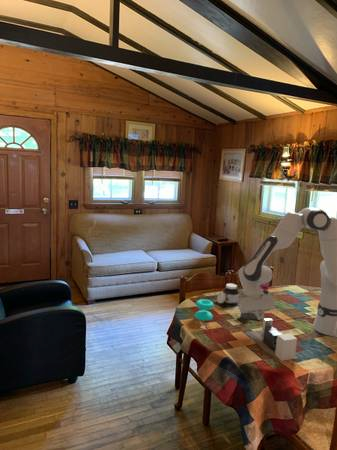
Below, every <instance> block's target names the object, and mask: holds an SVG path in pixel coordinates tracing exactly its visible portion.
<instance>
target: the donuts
mask: <svg viewBox="0 0 337 450" xmlns="http://www.w3.org/2000/svg"><path fill="white" fill-rule="evenodd" d="M214 304H215V303H214V302H213V301H211V300H210V299H204V298H200V299H198V300H197V301H196V302H195V305H196V307H197V308H198V309H199V310H198V311H196V312H195V314H194V317H195V318H196V320H198V321H204V322H205V321H206V322H207V321H211V320H213V317H214V316H213V314H212V313H211V311H209V310H212V309H214V306H215V305H214Z"/></svg>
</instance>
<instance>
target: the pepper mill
mask: <svg viewBox="0 0 337 450" xmlns="http://www.w3.org/2000/svg"><path fill="white" fill-rule="evenodd" d="M269 286H270V282H268V283H266V284H262V285H261V287H260V288H261V289H264V290H268V291H269Z"/></svg>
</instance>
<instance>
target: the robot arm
mask: <svg viewBox="0 0 337 450" xmlns="http://www.w3.org/2000/svg"><path fill="white" fill-rule="evenodd" d="M304 228H306V229H310V230H315V231H317V232H318V233H317V234H318V239H319V248H320V252H321V256H322V258H323V260H322V261H321V262H320V265H319V269H320V295H319V296H320V297H319V302H318V304H317V312H316V316H315V320H314V321H313V324H312V328H313V329H314V331H316V332H318V333H320V334H323V335H326V336H331V337H334V338H337V218H336V217H333V216H329V215H328V213H327V212H326V211H324V210H323V209H320V208H317V207H313V206H311V207H310V206H304V207H302V208H300V209H298V210H297V211H296V212H295V211H289V212H286V214H285V215H284V216H283V217H282V218H281V220H280V221H279V223H278V224H277V226H276V227H275V229H274V231H273V232H272V233H271V234H270V236H268V237H267V238H266V239H264V242H263V243H262V244H260V245H261V246H260V247H258V249H257V251H256V252H255V254H254V255H253V257H252V258H251V259H250V260H249V261H248V262H246V264H245V265H243V266H241V267H240V268H239V269H238V277H239V281H240V283H241V286H242V288H243V289H242V291H243V294H242V295H240V294H239V296H238V297H239V298H238V297H237V301H238V302H237V303H238V309H239V312H240V314H241V313H250V312H251V313H254V314H255V315H256V316H257V318H258V319H257V320H258V321H261V320H262V321H263V319H265V312H269V311H274V310H275V309H276V303H275V300H274V298H273V296H272V295H271V292H270V290H269V289H268V290H264V289H261V288H262V287H260V286H262V284H266V283H268V282H269V283H270V282H271V281H272V280H273V278H274V277H273V276H274V274H273V273H274V272H273V270H272V269H271V268H270V267H269V266H267V265H265V262H266V261H267V260H268V258H269V257H270V255H271V254H272V253H273V252H275V251H277V250H281V249H286V248H288V247H290V246H291V245H292V244H293V243H294V241H295V240H296V238H297V236H298V234H299V233H300V232H301V230H302V229H304ZM258 313H260V314H261V316H260V315H259V314H258Z"/></svg>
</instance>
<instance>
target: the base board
mask: <svg viewBox="0 0 337 450" xmlns="http://www.w3.org/2000/svg"><path fill="white" fill-rule="evenodd" d="M245 334H247V336H248V337H250V339H251V340H252V341H254V342H255V343H256V344H257V345H258V346H259V348H261V349H262V351H264V352H265V353H266V354H267V355H269V357H271V359H273V361H275V362H283V361H284V360H282V361H281V360H280V359H279V358H278V357H277V356H276V355H275V351H276V350H271V349H270V348H269V347H268V346H267V345H266V344H265V343H264V342H263V338H262V337H261V336H262V329H261V330H260V329H259V330H253V331H252V330H251V331H250V330H249V331H245ZM296 359H300V357H299V356H298V354H296V353H295V359H294V360H296ZM289 360H291V359H289Z"/></svg>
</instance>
